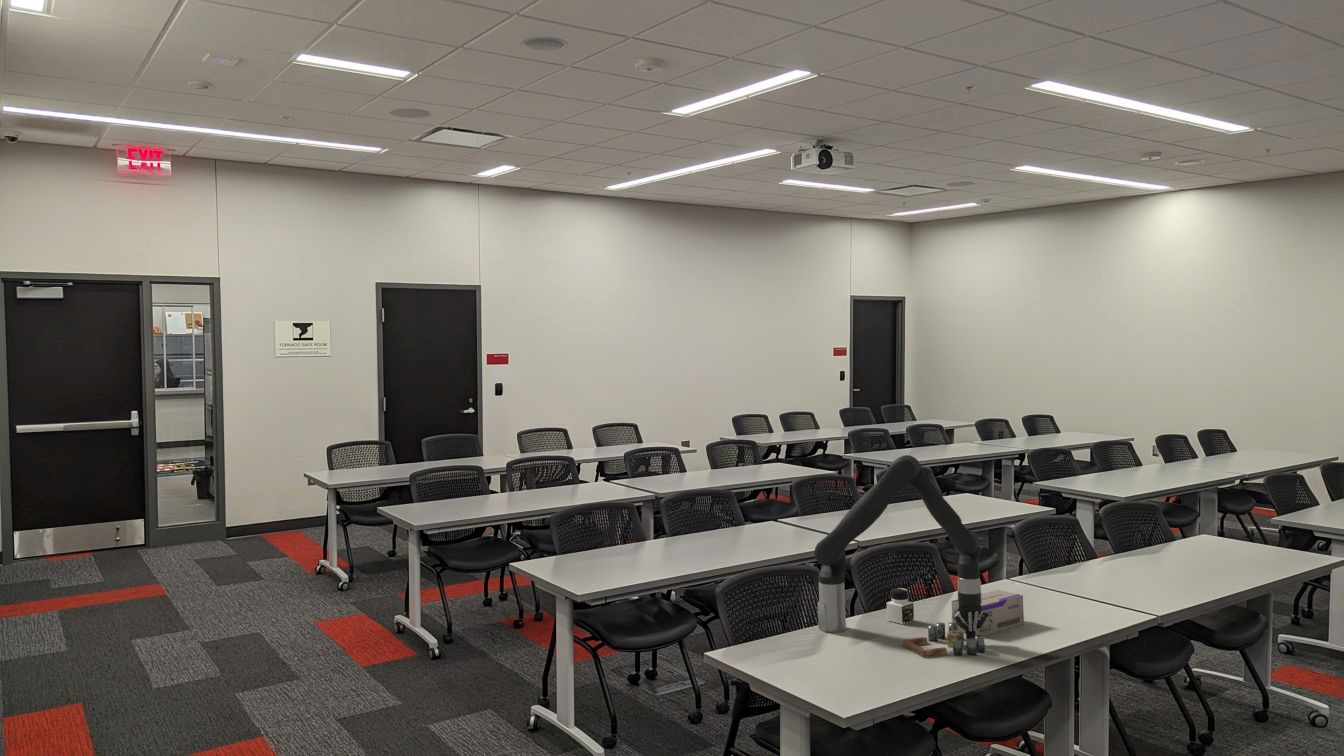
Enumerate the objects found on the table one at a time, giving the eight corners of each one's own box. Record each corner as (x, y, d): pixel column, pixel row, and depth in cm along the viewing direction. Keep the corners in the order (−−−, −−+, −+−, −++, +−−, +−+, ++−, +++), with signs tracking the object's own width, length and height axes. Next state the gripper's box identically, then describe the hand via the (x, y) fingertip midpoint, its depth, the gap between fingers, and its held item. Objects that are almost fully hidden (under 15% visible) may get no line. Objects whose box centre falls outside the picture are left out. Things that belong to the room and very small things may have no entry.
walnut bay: (923, 657, 287) (923, 651, 287) (902, 645, 301) (902, 639, 301) (946, 654, 289) (946, 648, 289) (925, 642, 303) (924, 636, 303)
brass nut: (952, 649, 294) (951, 636, 294) (943, 645, 299) (943, 631, 299) (968, 647, 296) (967, 634, 296) (959, 643, 301) (959, 629, 301)
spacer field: (959, 657, 286) (958, 642, 286) (924, 638, 307) (923, 624, 307) (989, 653, 288) (988, 638, 288) (952, 635, 309) (952, 620, 309)
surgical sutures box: (999, 618, 328) (998, 589, 328) (1024, 624, 319) (1022, 595, 319) (952, 630, 315) (951, 600, 315) (976, 637, 306) (975, 607, 306)
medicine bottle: (902, 625, 324) (901, 592, 324) (886, 621, 329) (885, 589, 329) (914, 621, 328) (913, 589, 328) (898, 617, 334) (897, 585, 334)
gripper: (957, 594, 294) (959, 646, 294) (993, 591, 297) (994, 642, 297) (945, 589, 301) (947, 640, 301) (980, 586, 304) (982, 636, 304)
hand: (971, 641), depth 299 cm, fingers closed
